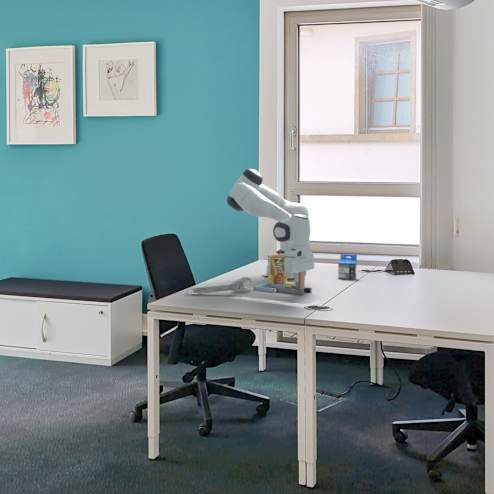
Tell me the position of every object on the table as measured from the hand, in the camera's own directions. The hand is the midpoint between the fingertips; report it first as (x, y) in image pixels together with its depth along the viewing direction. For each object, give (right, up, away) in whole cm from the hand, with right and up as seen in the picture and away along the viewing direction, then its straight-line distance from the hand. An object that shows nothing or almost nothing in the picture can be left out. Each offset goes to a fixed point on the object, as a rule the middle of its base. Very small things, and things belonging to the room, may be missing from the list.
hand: (299, 281), depth 320 cm
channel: (-2, -6, +3) cm, 7 cm away
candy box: (-9, -4, +27) cm, 28 cm away
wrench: (-36, -7, +5) cm, 37 cm away
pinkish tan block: (0, -3, 0) cm, 3 cm away
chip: (-4, -5, +4) cm, 7 cm away
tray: (-13, -6, +10) cm, 17 cm away
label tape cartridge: (+28, -1, +49) cm, 57 cm away
